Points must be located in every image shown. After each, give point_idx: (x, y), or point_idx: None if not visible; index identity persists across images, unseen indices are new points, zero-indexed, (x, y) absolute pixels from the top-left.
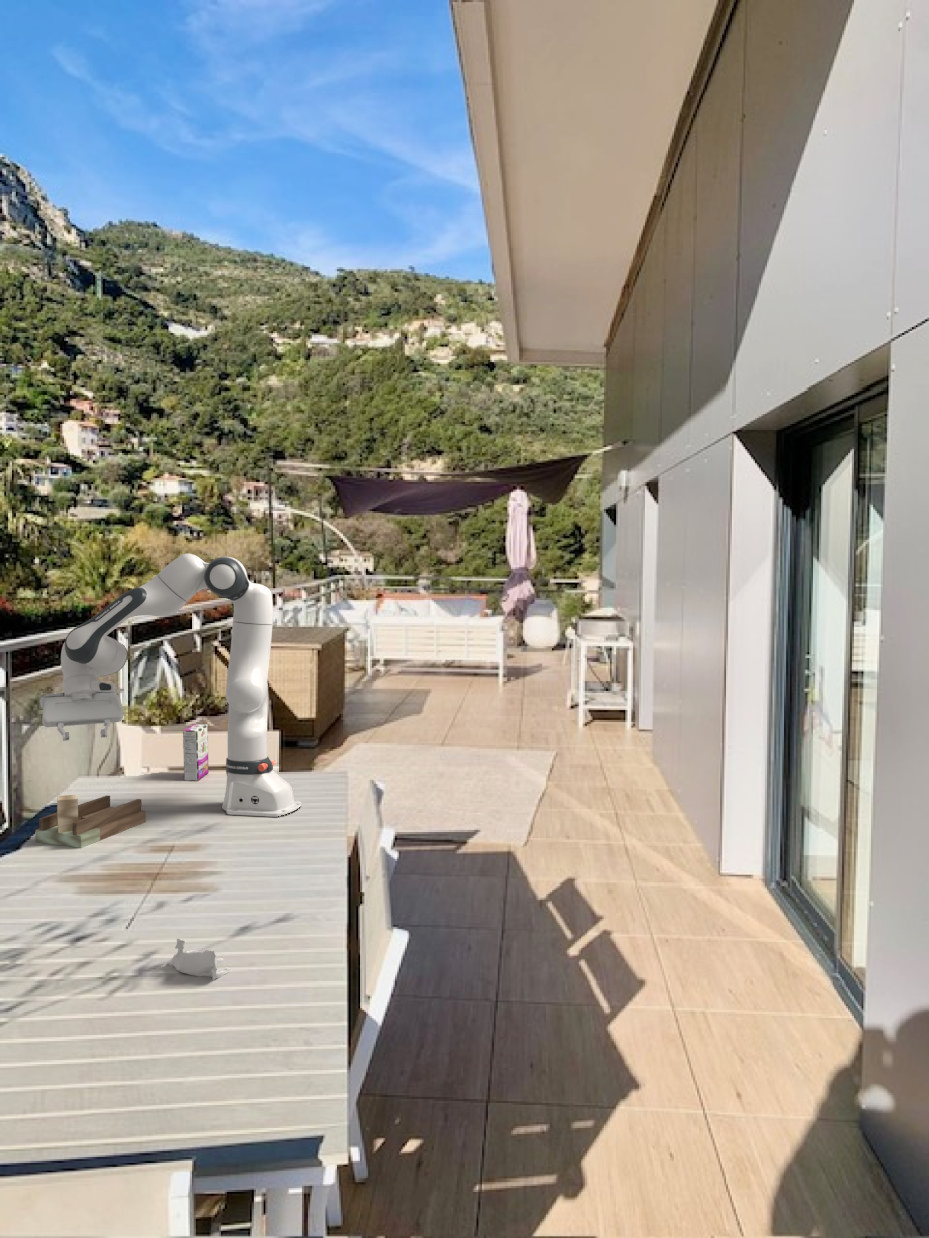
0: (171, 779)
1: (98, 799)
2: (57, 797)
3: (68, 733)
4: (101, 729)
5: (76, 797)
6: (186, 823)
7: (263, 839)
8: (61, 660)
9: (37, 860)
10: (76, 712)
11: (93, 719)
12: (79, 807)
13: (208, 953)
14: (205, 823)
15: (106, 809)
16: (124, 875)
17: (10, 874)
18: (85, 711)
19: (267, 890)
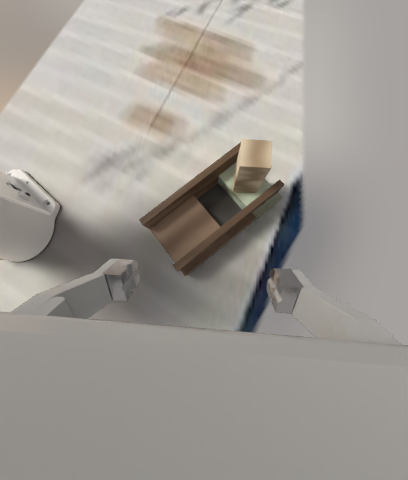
0: None
1: (193, 250)
2: (270, 160)
3: (282, 279)
4: (118, 274)
5: (242, 147)
6: (112, 195)
7: (73, 109)
8: None
9: (277, 139)
10: (282, 457)
11: (117, 322)
12: (225, 223)
13: None
14: (95, 185)
15: (184, 252)
16: (211, 70)
17: (303, 110)
18: (139, 447)
19: (128, 6)
